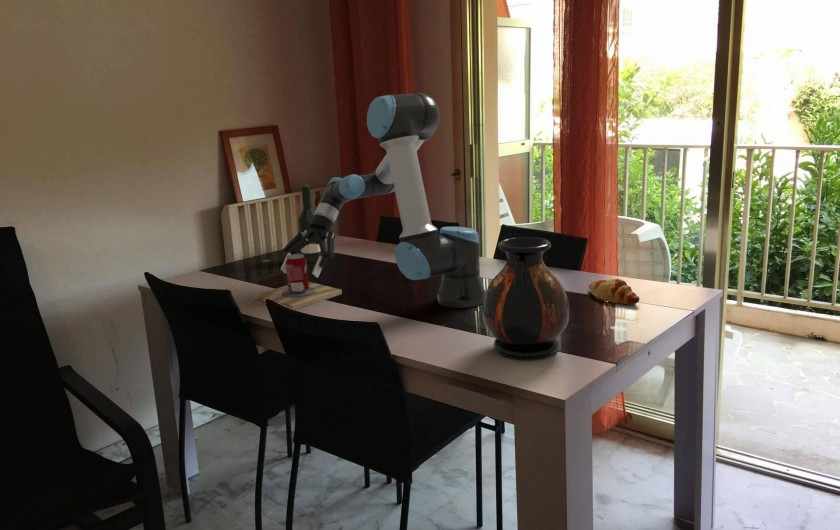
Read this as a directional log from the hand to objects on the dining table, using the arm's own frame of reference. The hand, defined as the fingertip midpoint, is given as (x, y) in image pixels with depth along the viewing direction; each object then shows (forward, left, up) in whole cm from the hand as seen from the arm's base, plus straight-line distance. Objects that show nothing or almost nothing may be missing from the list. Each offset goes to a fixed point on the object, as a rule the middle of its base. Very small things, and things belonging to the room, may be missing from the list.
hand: (298, 273), depth 240 cm
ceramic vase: (-87, -3, -8) cm, 88 cm away
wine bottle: (+33, -32, -8) cm, 46 cm away
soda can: (0, +1, -6) cm, 6 cm away
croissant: (-86, -52, -8) cm, 100 cm away
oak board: (0, +1, -8) cm, 8 cm away
